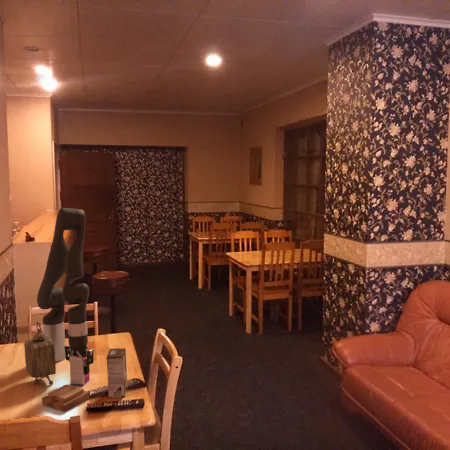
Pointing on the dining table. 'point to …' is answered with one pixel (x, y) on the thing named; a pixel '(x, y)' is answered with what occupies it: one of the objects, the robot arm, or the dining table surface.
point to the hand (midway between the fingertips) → (80, 372)
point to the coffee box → (117, 372)
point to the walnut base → (65, 405)
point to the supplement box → (77, 371)
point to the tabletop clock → (40, 356)
